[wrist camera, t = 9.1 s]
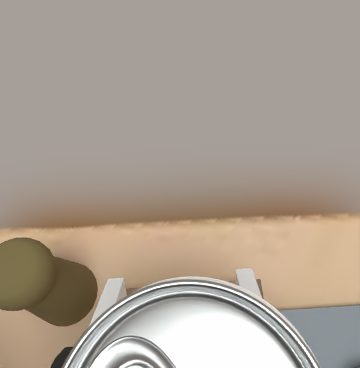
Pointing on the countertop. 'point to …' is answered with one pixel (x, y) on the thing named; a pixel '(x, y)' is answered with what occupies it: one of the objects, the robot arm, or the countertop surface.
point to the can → (191, 330)
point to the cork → (44, 283)
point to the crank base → (330, 334)
